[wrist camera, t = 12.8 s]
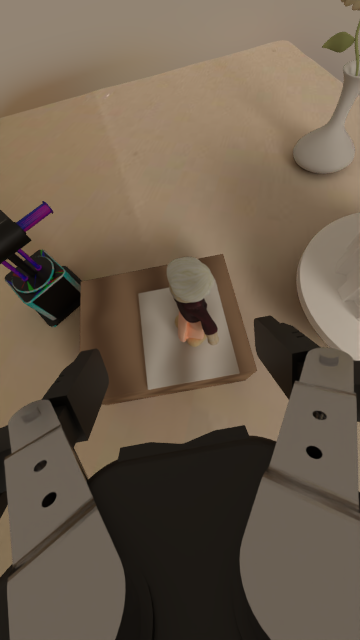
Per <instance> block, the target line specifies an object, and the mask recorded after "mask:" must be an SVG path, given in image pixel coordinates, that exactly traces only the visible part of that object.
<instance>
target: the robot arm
mask: <svg viewBox="0 0 360 640" xmlns="http://www.w3.org/2000/svg"><path fill="white" fill-rule="evenodd" d="M254 332H255V347H256V352H257V355H258V357H259V359H260V360H261V361H262V363H263V364H264V366H265V367H266V368H267V370H268V371H269V373H270V374H271V375H272V377H273V378H274V380H275V381H276V382H277V384H278V385H279V387H280V388H281V389H282V391H283V392H284V393H285V395H286V396H287V398H288V399H289V403H288V406H287V409H286V412H285V416H284V419H283V422H282V426H281V429H280V432H279V436H278V439H277V442H276V441H273V440H271V439H267V438H263V437H258V436H249V435H248V432H247V430H246V427H245V425H243V426H237V427H232V428H226V429H221V430H216V431H212V432H210V433H208V434H205V435H203V436H201V437H198V438H196V439H194V440H191V441H189V442H187V443H184V444H172V443H154V442H150V443H144V444H139V445H133V446H128V447H122V448H120V452H119V457H118V460H116V461H114V462H112V463H110V464H108V465H106V466H105V467H103V468H102V469H100V470H99V471H98V472H97V473H95V474H94V475H93V476H92V477H91V478H90V479H88V477H87V474H86V472H85V470H84V468H83V466H82V464H81V462H80V460H79V458H78V455H77V453H76V451H75V449H74V446H75V443H76V442H82V441H87V440H88V439H89V436H90V433H91V431H92V428H93V425H94V423H95V420H96V417H97V415H98V412H99V409H100V407H101V404H102V401H103V399H104V396H105V393H106V391H107V388H108V385H109V377H108V373H107V370H106V367H105V365H104V362H103V359H102V356H101V354H100V351H99V350H98V349H97V348H96V349H90V350H85V351H81V352H80V354H79V355H78V356H77V358H76V359H75V361H74V362H72V363H71V364H70V365H69V366H67V367H66V368H65V369H64V370H63V371H62V372H61V374H60V375H59V377H58V378H57V379H56V381H55V383H53V385H52V386H51V387H50V389H49V390H48V391H47V393H46V394H45V395H44V397H43V398H42V400H38V401H35V402H32V403H30V404H28V405H26V406H24V407H23V408H21V409H20V410H19V411H17V412H16V413H15V414H14V415H13V416H12V417H11V419H10V420H9V423H8V425H7V426H5V427H2V428H0V518H1V516H2V514H3V512H4V511H5V509H6V507H7V505H8V511H9V523H10V534H11V546H12V558H13V564H12V565H11V566H10V567H9V568H8V569H7V570H6V572H5V573H4V574H3V575H2V576H1V577H0V640H360V492H359V491H358V450H357V422H360V361H356V360H353V358H352V357H351V356H350V355H349V354H348V353H346V352H344V351H341V350H338V349H334V348H321V347H319V346H318V345H317V344H315V343H314V342H313V341H312V340H310V339H309V338H308V337H306V336H305V335H304V334H302V333H301V332H299V330H297V329H296V328H295V327H293V326H291V325H288V324H285V323H279V322H278V321H277V320H275V319H274V318H273V317H272V316H265V317H260V318H255V319H254Z"/></svg>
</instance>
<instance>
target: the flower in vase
mask: <svg viewBox="0 0 360 640" xmlns="http://www.w3.org/2000/svg"><path fill="white" fill-rule="evenodd" d="M341 1H342V2H344V5H345V6H350V5H352V4H353V6H352V10H360V0H341ZM359 28H360V21H359V24H358V27H357V30H356V35H355V39H354V37H352V36H351V35H350V34H348V33H346V32H340V33H337V34H336V35H334V36H333V37H331V38H330V39H329V40H328V41H327V42H326V43H325V44H324V45H323V46H322V48H327V49H330V50H333V51H335V52H343V51H345V50H346V49H347V48H348V47H350V46H351V45H352V44H353V43H354V41H355V53H356V60H355V61H351V62H349V63H347V64H346V65H344V67H343V73H344V83H343V88H342V92H341V96H340V99H339V102H338V104H337V107H336V109H335V111H334V113H333V116H332V117H331V119H330V121H329V122H328V123H327V124H326V125H324V126H322V127H320V128H318V129H316V130H314V131H312V132H310V133H308V134H307V135H305V136H304V137H302V138H301V139H300V140H299V141H298V142H297V144H296V145H295V147H294V149H293V156H294V159H295V161H296V163H297V164H298V165H299V166H300V167H302V168H303V169H305V170H307V171H310V172H314V173H320V174H328V173H334V172H337V171H340V170H342V169H344V168H345V167H347V166H348V165H349V164H350V163H351V162H352V161H353V159H354V155H355V147H354V144H353V141H352V139H351V138H350V136H349V135H348V133H347V132H346V130H345V127H344V123H345V120H346V117H347V115H348V112H349V110H350V108H351V106H352V105H353V103H354V101H355V99H356V98H357V96H358V94H359V93H360V60H359V56H360V55H359V54H358V32H359Z"/></svg>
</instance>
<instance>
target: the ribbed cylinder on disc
mask: <svg viewBox="0 0 360 640" xmlns="http://www.w3.org/2000/svg"><path fill="white" fill-rule="evenodd" d="M296 284H297V292H298V297H299V300H300V304H301V306H302V309H303V311H304V313H305V315H306V317H307V319H308V321H309V322H310V324H311V325H312V327H313V328H314V330H315V331H316V332H317V334H318V335H319V336H320V337H321V338H322V340H323V341H324V342H325V343H326V344H327V345H328V346H329V347H330V348H334V349H338V350H341V351H344V352H346V353H348V354H349V355H350V356H351V357H352V358H353V360H356V361H360V212H359V213H354V214H351V215H347V216H344V217H342V218H340V219H337V220H335V221H333V222H332V223H330V224H328V225H327V226H325V227H324V228H323V229H321V230H320V231H319V232H318V233H317V234H316V235H315V236H314V237H313V238H312V240H311V241H310V243H309V244H308V246H307V247H306V249H305V250H304V252H303V254H302V256H301V259H300V261H299V264H298V268H297V276H296Z"/></svg>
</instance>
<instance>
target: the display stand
mask: <svg viewBox="0 0 360 640" xmlns="http://www.w3.org/2000/svg"><path fill="white" fill-rule="evenodd" d="M198 260H200V262H201V263H203V264H205V265H206V266H207V267H208V268H209V269H210V271H211V274H212V275H213V277H214V282H213V287H212V288H211V292H210V295H207V296H206V297H205V298H204V299H205V302H206V303H207V311H208V313H209V315H210V316H211V318H212V319H213V321H214V322H215V323H216V325H217V328H218V331H217V333H218V337H219V342H218V344H216V345H210V344H209V343H208V341H207V338H206V339H205V340H204V341H203V342H202V343H201V344H200V345H199V346H197V347H192V346H190V345H189V344H188V343H187V341H185V342H182V341H180V339H179V337H178V328H177V327H176V325H175V318H176V316H177V315H179V309H178V307H177V303H176V302H175V300H174V298H173V296H172V295H171V292H170V290H169V281H168V278H167V266H168V265H164V266H159V267H153V268H148V269H143V270H138V271H133V272H128V273H123V274H118V275H113V276H107V277H102V278H97V279H92V280H87V281H82V282H81V301H80V352H81V351H85V350H90V349H96V348H97V349H98V350H99V351H100V354H101V356H102V359H103V362H104V365H105V367H106V370H107V373H108V377H109V385H108V388H107V391H106V393H105V396H104V399H103V401H102V404H103V405H110V404H115V403H121V402H126V401H132V400H138V399H143V398H149V397H154V396H160V395H166V394H171V393H177V392H182V391H188V390H194V389H199V388H205V387H211V386H216V385H222V384H227V383H233V382H239V381H244V380H246V379H247V378H248V377H250V376H251V375H252V374H253V373H255V372H256V371H257V368H256V365H255V362H254V358H253V355H252V351H251V348H250V345H249V341H248V338H247V334H246V331H245V328H244V324H243V321H242V317H241V314H240V310H239V307H238V304H237V300H236V297H235V293H234V290H233V287H232V283H231V280H230V276H229V273H228V270H227V266H226V263H225V259H224V256H223V254H220V255H215V256H210V257H205V258H199V259H198Z"/></svg>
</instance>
